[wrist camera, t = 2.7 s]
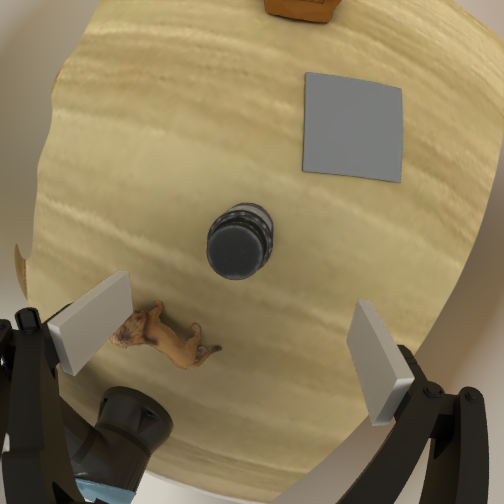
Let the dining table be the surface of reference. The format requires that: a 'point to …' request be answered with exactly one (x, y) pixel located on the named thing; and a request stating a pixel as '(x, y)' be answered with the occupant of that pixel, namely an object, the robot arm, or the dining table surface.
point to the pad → (352, 127)
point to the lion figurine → (161, 338)
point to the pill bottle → (240, 241)
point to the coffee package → (303, 9)
